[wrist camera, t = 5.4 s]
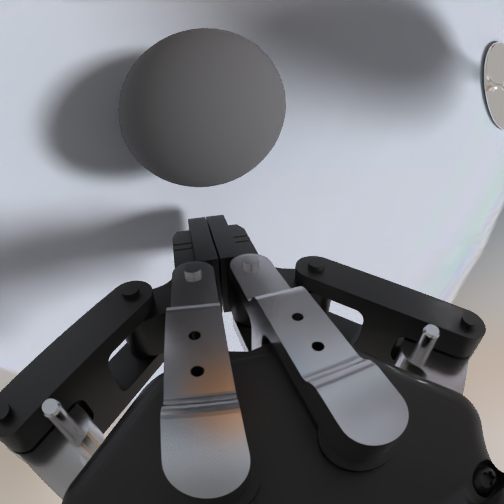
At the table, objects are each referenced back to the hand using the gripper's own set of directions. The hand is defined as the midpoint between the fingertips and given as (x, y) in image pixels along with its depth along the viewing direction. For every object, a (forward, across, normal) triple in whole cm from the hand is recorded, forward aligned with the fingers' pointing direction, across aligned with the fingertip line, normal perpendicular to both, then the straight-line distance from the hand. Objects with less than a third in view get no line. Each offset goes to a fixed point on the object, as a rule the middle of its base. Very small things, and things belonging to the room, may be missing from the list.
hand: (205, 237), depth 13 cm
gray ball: (-1, 0, -6) cm, 6 cm away
